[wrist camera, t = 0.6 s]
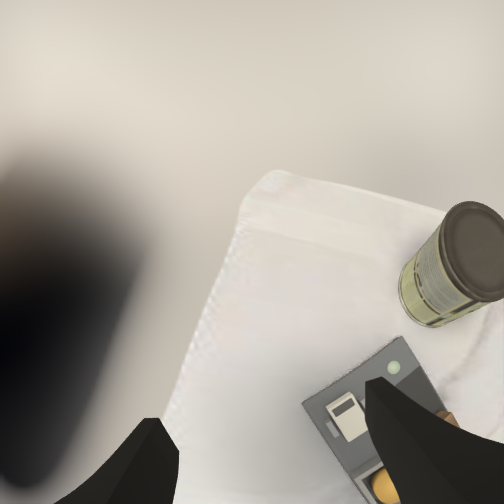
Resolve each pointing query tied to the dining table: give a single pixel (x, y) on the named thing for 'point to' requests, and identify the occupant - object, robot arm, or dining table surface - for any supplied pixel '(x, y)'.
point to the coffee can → (456, 267)
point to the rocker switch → (348, 416)
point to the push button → (384, 486)
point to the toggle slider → (447, 417)
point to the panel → (361, 448)
